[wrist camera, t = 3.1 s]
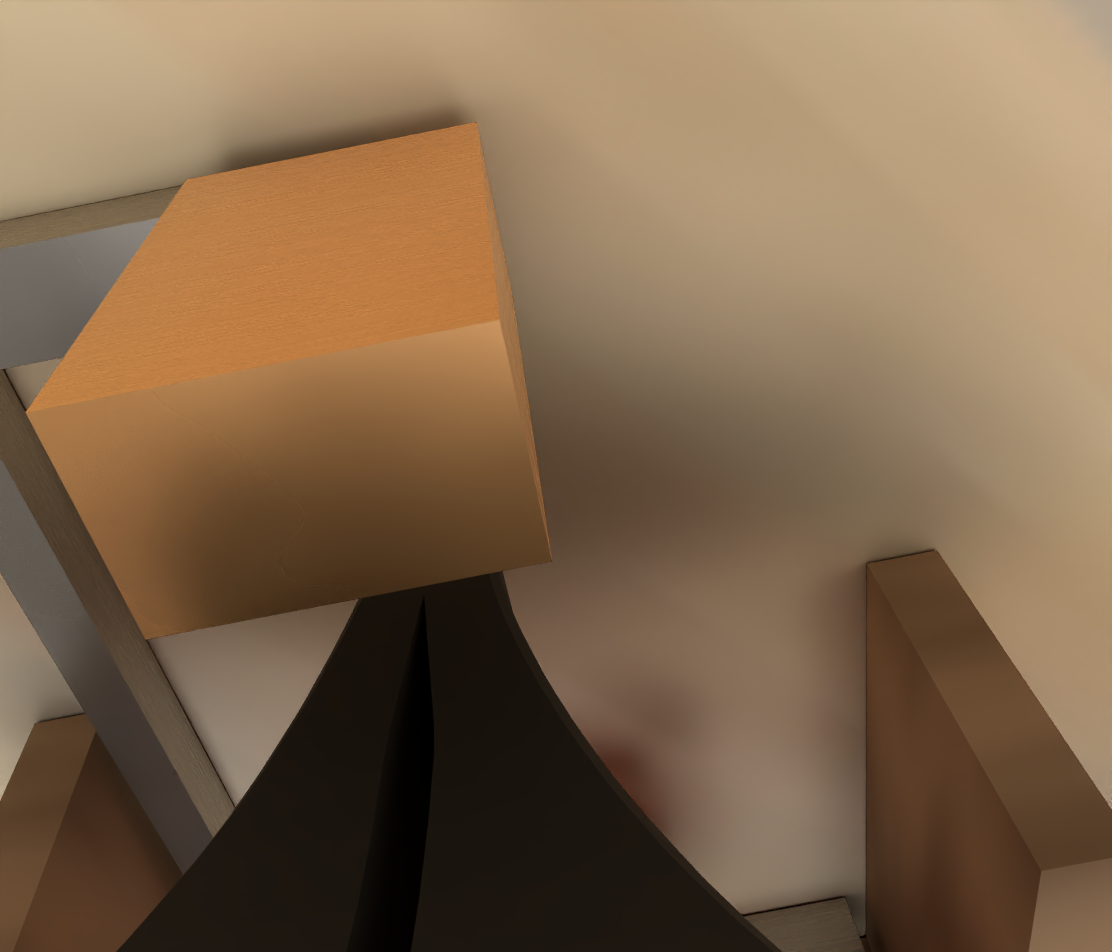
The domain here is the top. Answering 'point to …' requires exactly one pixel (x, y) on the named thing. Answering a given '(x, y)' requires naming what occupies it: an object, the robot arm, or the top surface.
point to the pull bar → (265, 430)
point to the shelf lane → (892, 804)
